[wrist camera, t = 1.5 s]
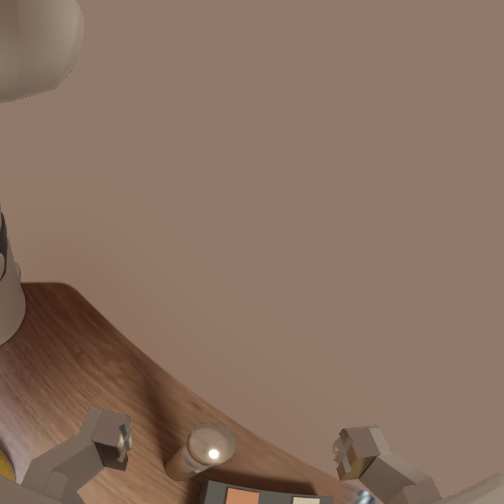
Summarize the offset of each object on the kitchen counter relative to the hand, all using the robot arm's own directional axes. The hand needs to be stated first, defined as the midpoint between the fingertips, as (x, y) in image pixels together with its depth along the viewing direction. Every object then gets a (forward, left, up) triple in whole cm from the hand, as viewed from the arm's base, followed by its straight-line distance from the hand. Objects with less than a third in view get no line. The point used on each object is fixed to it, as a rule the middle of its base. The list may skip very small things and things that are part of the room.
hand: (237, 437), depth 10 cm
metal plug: (+2, +4, -26) cm, 27 cm away
